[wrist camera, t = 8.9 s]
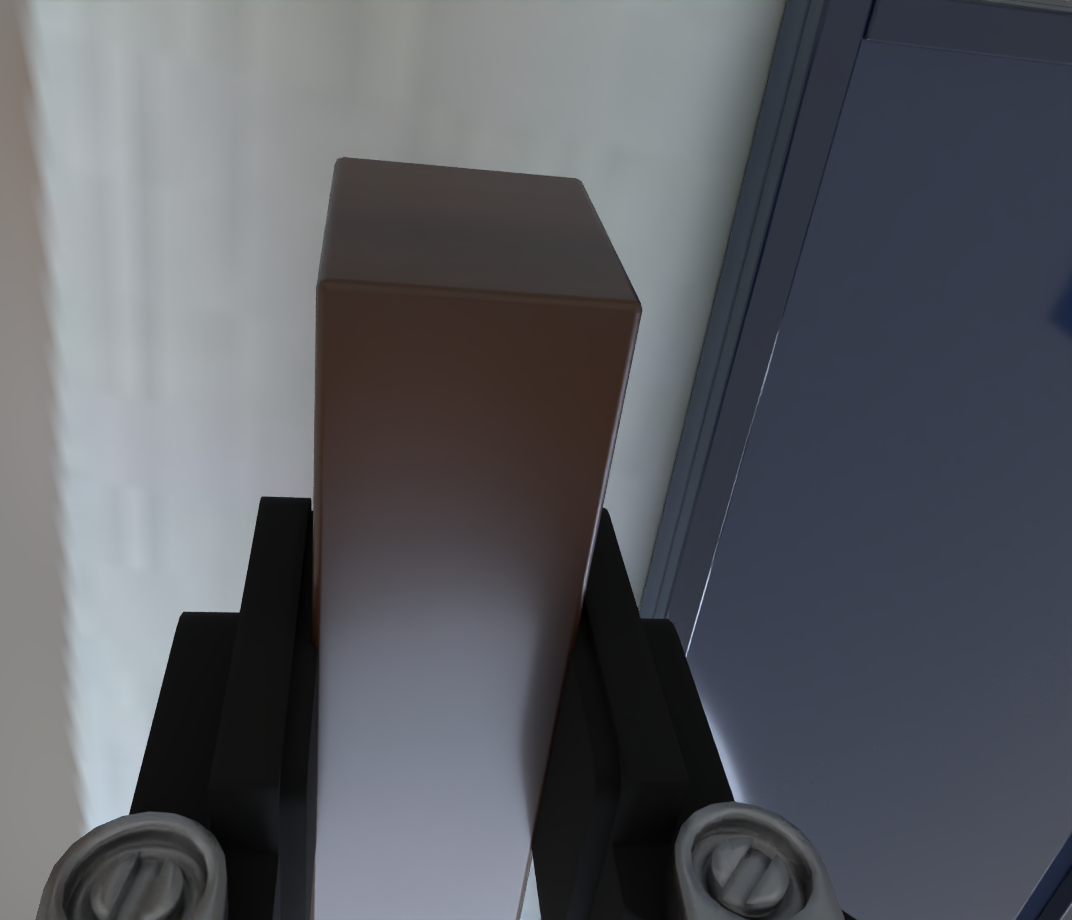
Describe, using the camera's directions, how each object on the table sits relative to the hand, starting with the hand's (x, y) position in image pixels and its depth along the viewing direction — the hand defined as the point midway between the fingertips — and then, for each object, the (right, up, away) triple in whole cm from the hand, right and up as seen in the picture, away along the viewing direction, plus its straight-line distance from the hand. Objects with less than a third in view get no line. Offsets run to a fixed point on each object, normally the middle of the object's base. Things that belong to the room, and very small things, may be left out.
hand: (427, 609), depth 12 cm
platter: (+9, -1, +8) cm, 12 cm away
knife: (-1, -3, +3) cm, 5 cm away
